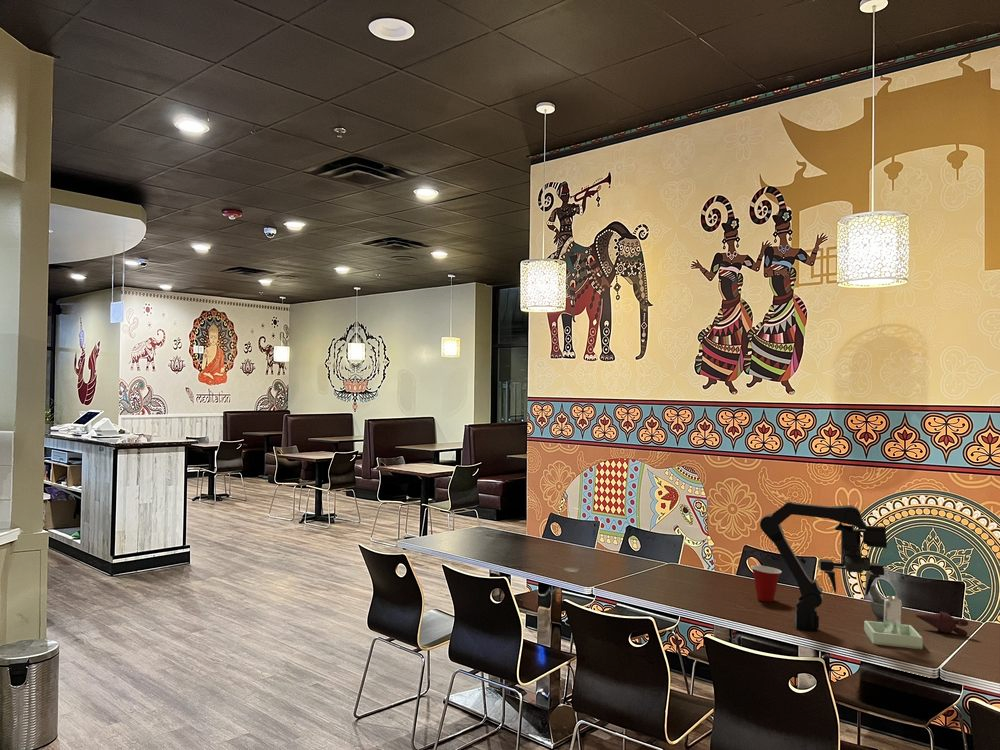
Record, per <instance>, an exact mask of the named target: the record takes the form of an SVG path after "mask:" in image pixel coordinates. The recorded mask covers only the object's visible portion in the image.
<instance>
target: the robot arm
mask: <svg viewBox="0 0 1000 750" xmlns="http://www.w3.org/2000/svg"><path fill="white" fill-rule="evenodd" d="M792 515H795V516H796V515H797V516H802V517H803V516H804V517H812V518H813V517H814V518H819V519H820V518H822V519H829V520H832V521H836V522H838V524H837V525H836V526H835V527H834V530H835V531H840V562H834V561H833V560H832V559H829V558H828V559H827V558H820V559H819V560H818V561H817V562H818V563H817V564H818V565H817V566H818V568H819V570H820V571H822V572H824V574H827V576H828V578H829V580H830V583H831V586H832V588H833V589H832V590H833V592H834V594H835V593H836V594H837V585H836V584H837V583H836V573H835V571H834V569H836V570H837V569H838V570H846V572H848V573H858V574H863V573H864V572H865V583H864V593H865V596H868V595H869V593H870V592H869V590H870V587H871V585H873V583H874V581H875V580H876V579H877V578H881V577H880V576H885V567H884V566H883V565H882V564H881V563H879V562H871V558H870V557H868V556H863V557H862V551H861V550H862V547H861V546H862V545H861V543H862V544H864V545H866V547H870V548H879V549H887V548H888V547H887V546H888V539H887V532H886V531H887V530H886V526H885V525H879V526H876V525H867V523H866V522H865V521H864V520H863V518H862V516H861V511H860V510H859V508H858V507H857V506H855V505H852V504H851V505H848V504H847V505H834V506H827V505H817V504H809V503H799V502H793V501H786V502H785V503H784V504H783V505H782V506H781V507H780V508H778V509H777V510H775V511H774V512H773V513H768V514H766V515H764V516H763V518H762V519H761V520H760V523H759V526H760V529H761V530H762V532H763V533H764V534H765V535H766V536H767V537H768V539H769V540H770V541H771V542H772V543H773V544H774V545H775V547H776V548H777V550H778V552H779V554H780V555H781V558H782V559H783V561H784V562H785V565H786V566H787V567H788V569H789V571H790V572H791V574H792V576H793V577H794V580H795V581H796V583H797V586H798V589H799V592H800V595H801V596H799V597H798V598H797V600H796V604H795V616H794V619H795V620H794V621H795V622H794V626H795V629H796V630H798V631H799V630H800V631H806V632H807V631H809V632H819V628H820V627H819V625H820V616H819V614H818V610H817V609H816V608H818V607H821V605H822V603H823V588H822V587H821V586H820V585H819V582H818V580H817V578H814V579H813V580H812V579H811V578H810V576H809V575H808V574H807V573H806V571H805V569H804V567H803V566H802V563H801V562H800V561H799V559H798V557H797V555H796V554H795V553H794V550H793V548H792V546H791V545H790V543H789V541H787V538H786V537H785V534H784V531H783V527H782V523H783V522H784V521H785V520H786V519H788V518H789V517H790V516H792ZM853 526H854V527H856V528H854V527H853ZM861 533H862V534H861ZM861 536H862V538H861ZM861 539H862V542H861Z"/></svg>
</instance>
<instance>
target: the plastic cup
mask: <svg viewBox="0 0 1000 750" xmlns="http://www.w3.org/2000/svg"><path fill="white" fill-rule="evenodd" d="M751 569H752V573H753V579H754V586H755V592H756V598H757V600H758V601H761V602H766V603H767V602H768V603H769V602H771V601H772V602H774V599H775V596H776V595H775V594H776V591H777V588H778V587H777V586H778V581H779V578H780V576H781V574H782V570H780V569H779V568H775V567H772V566H771V567H770V566H766V565H760V564H759V565H757V564H756V565H751Z"/></svg>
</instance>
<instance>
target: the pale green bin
mask: <svg viewBox="0 0 1000 750" xmlns="http://www.w3.org/2000/svg"><path fill="white" fill-rule="evenodd" d="M863 631H864V633H865V634H866V636H867V637H868V639H869V641H870V642H871V643H872V645H876V646H877V645H880V646H885V647H886V646H889V647H895V648H907V649H914V650H915V649H917V650H923V640H924V639H923V636H922V635H921V634H919V632H917V630H916V629H915V628H914V627H913V626H912V625H910V624H902V623H901V635H898V634H888V633H883V631H884V623H883V622H877V621H872V620H871V621H870V620H864V627H863Z"/></svg>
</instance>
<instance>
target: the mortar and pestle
mask: <svg viewBox="0 0 1000 750" xmlns="http://www.w3.org/2000/svg"><path fill="white" fill-rule="evenodd" d="M868 593H869V594H870V596H871V598H872V599H870V607H871V608H870V609H871V611H872V613H873V615H874V616H875V617H876V622H883V623H884V598H882V597H881V595H880V594H879V593H878V591H877V589H876V585H874V584H872V585H871V587H870V590H869V592H868ZM902 613H903V604H902V603H901V614H902Z"/></svg>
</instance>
